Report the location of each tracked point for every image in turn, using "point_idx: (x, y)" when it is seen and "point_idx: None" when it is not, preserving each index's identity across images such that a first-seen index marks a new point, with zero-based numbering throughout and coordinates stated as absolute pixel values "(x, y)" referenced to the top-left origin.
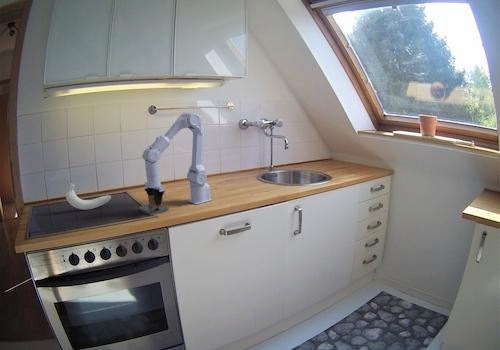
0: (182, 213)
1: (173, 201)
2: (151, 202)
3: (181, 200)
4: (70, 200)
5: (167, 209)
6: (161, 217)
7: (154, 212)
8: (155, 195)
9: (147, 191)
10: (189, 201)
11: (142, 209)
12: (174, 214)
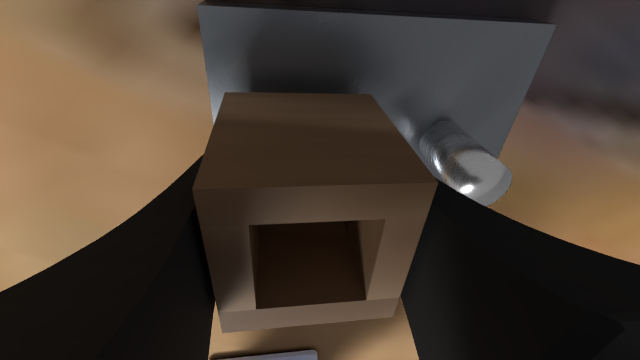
0: (61, 254)
1: (402, 303)
2: (288, 131)
3: (371, 333)
4: None
5: None
6: (35, 64)
7: (206, 69)
8: (11, 298)
9: (526, 283)
10: (290, 355)
11: (447, 17)
12: (72, 202)
